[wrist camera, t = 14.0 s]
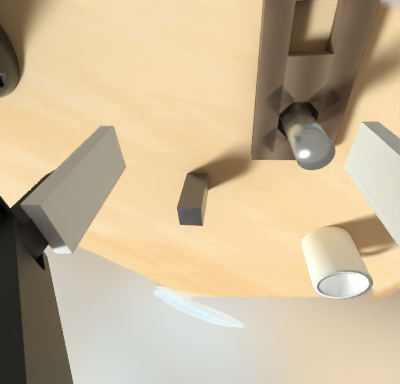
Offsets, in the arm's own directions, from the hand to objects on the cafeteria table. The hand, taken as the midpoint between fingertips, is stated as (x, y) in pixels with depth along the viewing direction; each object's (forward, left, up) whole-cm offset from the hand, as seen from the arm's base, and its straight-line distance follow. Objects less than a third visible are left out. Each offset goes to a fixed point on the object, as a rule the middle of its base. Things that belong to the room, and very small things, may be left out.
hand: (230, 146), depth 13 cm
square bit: (-7, -21, -25) cm, 34 cm away
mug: (+22, -38, -26) cm, 51 cm away
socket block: (+9, -2, -25) cm, 27 cm away
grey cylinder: (+9, -7, -25) cm, 28 cm away
